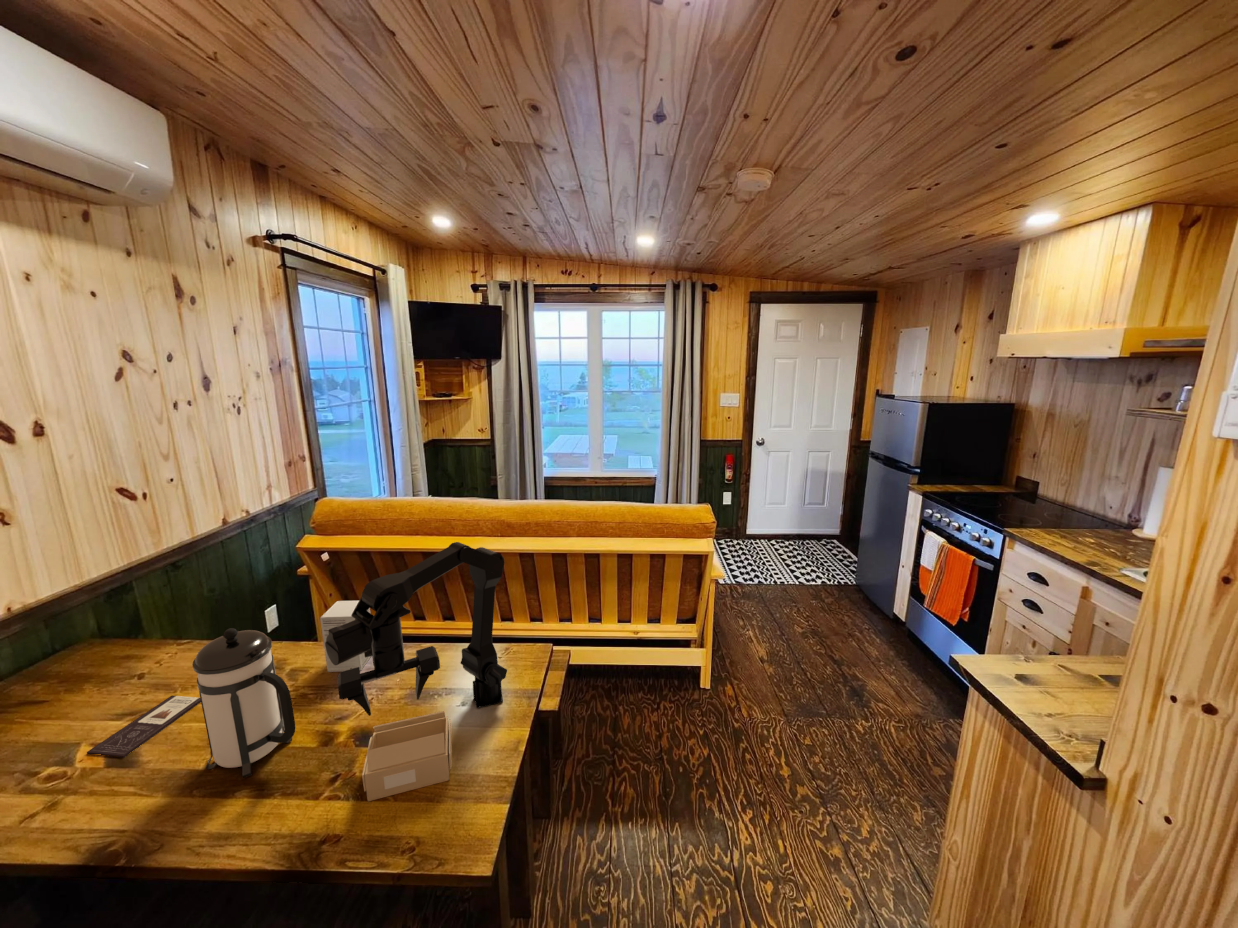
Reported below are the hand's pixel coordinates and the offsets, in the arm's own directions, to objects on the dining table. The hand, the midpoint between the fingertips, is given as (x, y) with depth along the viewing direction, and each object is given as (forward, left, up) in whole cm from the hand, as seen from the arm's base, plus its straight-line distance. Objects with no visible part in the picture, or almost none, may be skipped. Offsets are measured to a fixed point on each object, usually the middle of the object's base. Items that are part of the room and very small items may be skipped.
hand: (394, 706), depth 99 cm
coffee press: (+29, -11, -13) cm, 34 cm away
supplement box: (+16, -41, -13) cm, 46 cm away
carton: (-3, +4, -13) cm, 13 cm away
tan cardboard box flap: (-3, 0, -5) cm, 6 cm away
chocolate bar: (+56, -29, -13) cm, 65 cm away
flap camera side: (-3, +8, -5) cm, 10 cm away
